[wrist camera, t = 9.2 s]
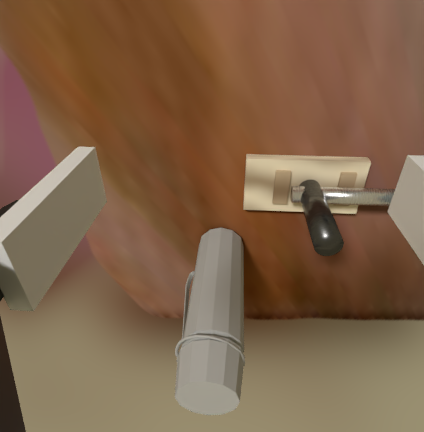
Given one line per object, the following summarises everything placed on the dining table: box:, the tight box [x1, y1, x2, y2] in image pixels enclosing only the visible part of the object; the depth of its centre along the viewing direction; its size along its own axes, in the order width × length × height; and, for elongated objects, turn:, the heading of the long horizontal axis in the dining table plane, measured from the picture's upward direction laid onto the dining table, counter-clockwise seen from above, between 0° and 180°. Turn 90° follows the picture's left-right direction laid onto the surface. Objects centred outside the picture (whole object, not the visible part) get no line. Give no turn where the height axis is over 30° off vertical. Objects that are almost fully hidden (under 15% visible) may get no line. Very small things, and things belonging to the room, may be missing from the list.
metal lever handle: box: [290, 179, 395, 256], centre depth 39 cm, size 18×7×13 cm, turn 90°
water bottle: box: [175, 228, 245, 415], centre depth 43 cm, size 9×8×25 cm
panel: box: [243, 154, 371, 214], centre depth 45 cm, size 8×16×2 cm, turn 90°
